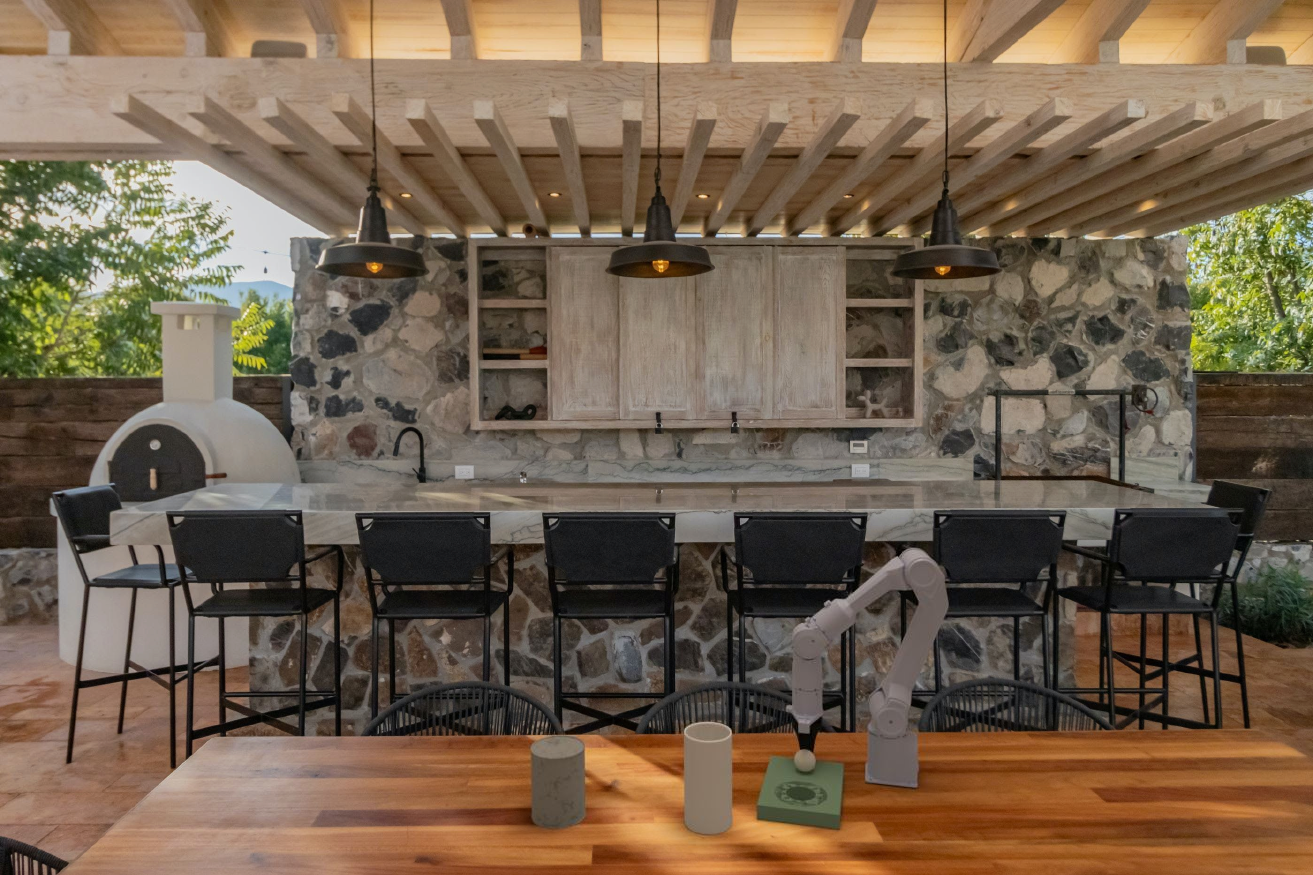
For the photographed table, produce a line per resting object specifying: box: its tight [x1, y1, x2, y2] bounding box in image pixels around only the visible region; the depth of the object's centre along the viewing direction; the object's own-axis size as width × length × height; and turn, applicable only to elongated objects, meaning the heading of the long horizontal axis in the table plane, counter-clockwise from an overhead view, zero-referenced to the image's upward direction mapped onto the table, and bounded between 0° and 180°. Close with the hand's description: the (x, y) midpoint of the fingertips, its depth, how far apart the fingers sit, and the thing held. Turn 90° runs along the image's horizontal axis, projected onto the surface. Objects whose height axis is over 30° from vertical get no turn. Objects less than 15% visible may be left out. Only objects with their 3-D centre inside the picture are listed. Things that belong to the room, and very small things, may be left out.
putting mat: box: [756, 755, 845, 830], centre depth 150 cm, size 20×14×2 cm
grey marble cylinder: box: [530, 734, 587, 830], centre depth 144 cm, size 10×10×12 cm
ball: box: [793, 749, 817, 772], centre depth 155 cm, size 4×4×4 cm
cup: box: [683, 721, 733, 835], centre depth 141 cm, size 8×8×16 cm
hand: (807, 754), depth 160 cm, fingers closed
